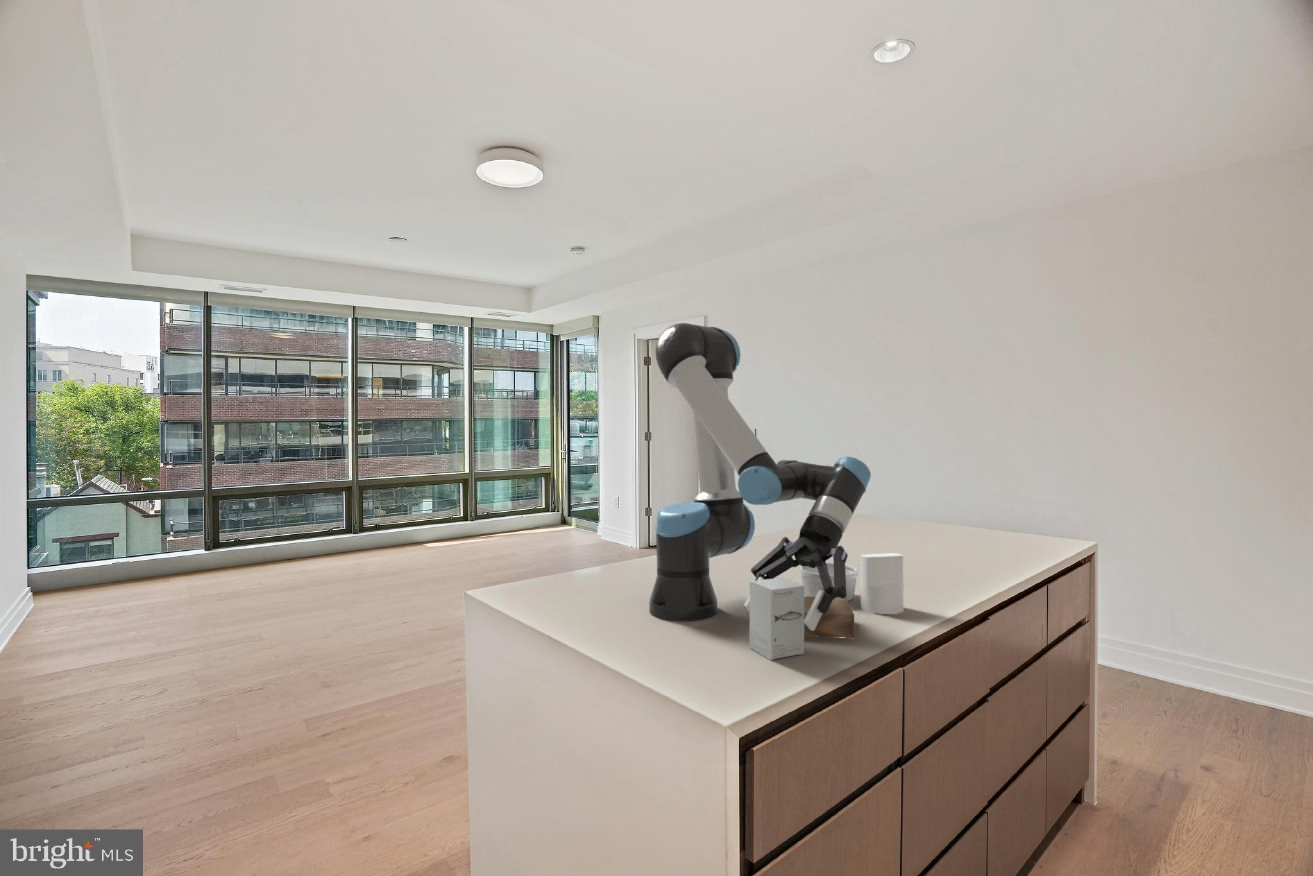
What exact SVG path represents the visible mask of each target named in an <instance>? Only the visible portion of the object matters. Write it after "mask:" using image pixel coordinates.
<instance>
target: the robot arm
mask: <svg viewBox="0 0 1313 876" xmlns="http://www.w3.org/2000/svg"><path fill="white" fill-rule="evenodd" d="M655 345H656V346H655V350H654V351H655V361H656V363H657V366H658V368H659V371H660V372H661V375H662V376H663V377H664V379H665V381H666V382H667V383H668V384H669V386H670V387H671V388H677V389H678V391H679V392H680V394H681V395H682V397H683V398H684V400H685V401H686V402H687V404H688V405H689V406H690V408H691V410H692V413H693V426H694V434H695V435H694V436H695V448H696V461H697V473H698V483H699V491H698V494H696V496H695V497H694V499H693V502H689V501H688V502H687V501H686V502H682V503H679V502H678V503H673V504H669V505H667V506H664V507H662V508H661V509H660V510H659V511H658V512H657V514H656V525H655V532H656V533H655V534H656V537H655V539H656V578H655V583H654V586H653V588H652V592H651V594H650V597H649V602H648V603H649V604H648V605H649V606H648V609H649V612H650V614H651V615H652V616H655V617H657V618H660V619H663V620H670V621H696V620H704V619H707V618H711V617H713V616H715V615H716V614H717V613H718V611H719V610H718V607H719V606H718V603H719V602H718V599H717V596H716V592H715V589H714V586H713V583H712V580H711V577H710V559H711V558H714V557H719V556H723V555H729V554H730V555H731V554H733V553H735V552H738V551H739V550H742V549H744V548H745V547H746V546H747V545H749V543H750V542H751V541H752V540H753V536H754V533H755V530H756V528H755V527H756V523H755V518H754V517H755V516H754V514H753V512H752V511H751V510H750V508H749V507H748V506H747V505H746V504H744V501H745V502H746V503H748V504H750V505H754V506H758V505H759V506H761V505H762V506H763V505H765V506H767V505H771V504H773V503H778V502H779V503H780V502H786V501H792V500H797V499H798V500H799V499H805V500H811V501H814V503H813V505H812V506H811V509H810V511H809V512H808V516H807V517H806V518H805V520H804V522H803V524H802V526H801V528H800V530H799V534H798V536H799V537H798V538H797V539H796V540H795V541H793V540H789V538H788V537H787V536H784V537H782V539H781V540H780V542H779V543H778V544H777V546H776V547H774V548H773V549H772V550H771V551H769V552H768V554H766V555H765V556H764V557H763V558H762V559H761V560H759V561H758V562H757V563H756V564H755V565H753V566H752V567H751V569H750V572H751V573H752V575H753V576H754V577H755V579H754V581H757V580H766V579H774V578H778V576H780V575H782V574H784V573H785V572H787V571H788V570H790V569H791V568H797V567H798V566H800V567H801V566H809V567H811V568H815V567H817V569H818V572H819V575H820V579H821V582H822V585H823V590H824V591H825V592H823V591H820V590H819V591H818V593H817V595H816V597H815V599H814V601H813V603H812V606H811V608H810V610H809V612H808V614H807V616H806V618H805V620H804V623H805V624H806V625H807V627H808V628H809V629H810V630H811V631H814V630H815V628H816V626H817V624H818V622H819V620H820V617H821V615H822V613H824V614H825V613H826V612H827V611H828V609H829V607H830V605H831V603H832V600H833V599H835V598H837V597H840V598H842V599H843V598H845V597H846V574H845V565H846V562H847V559H848V556H849V555H848V553H847V551H846V550H845V549H844V547H843V546H842V545H839V544H840V542H841V540H842V537H843V534H844V533H845V531H846V529H847V527H848V526H849V523H850V521H851V519H852V517H853V515H854V513H855V510H856V508H857V507H858V506H859V505H858V504H859V502H860V501H861V499H862V498H863V495H864V494H865V493H866V491H867V487H868V484H869V482H870V479H871V471H870V468H869V467H868V465H867V464H866V463H864V461H862V460H860V459H858V458H857V457H853V456H843V457H839V458H838V459H837V460H836V462H835V463H834V464H833V466H832V465H822V464H816V463H815V464H814V463H809V462H803V461H798V460H794V459H792V460H786V459H781V460H779V461H777V463H776V462H775V460H774V458H773V457H772V456H771V455H770V454H769V453H768V451H767V450H766V448H765V447H764V446H763V444H762V443H761V442H760V440H759V438H757V436H756V434H755V433H754V432H753V430H752V429H751V428H750V426H749V425H748V424H747V422H746V421H745V420H744V418H743V416H741V414H740V413H739V411H738V410H737V409H736V407H735V406H734V404H733V403H732V401H731V400H730V399H729V390H728V389H729V388H730V386H731V384H732V383H733V382H734V373H735V372H736V370H737V369H738V366H739V364H740V363H741V362H740V361H741V349H740V346H739V342H738V340H737V339H736V338H735V337H734V335H732V334H731V333H730V332H729V331H727V330H725V329H721V328H719V327H717V326H716V327H715V326H705V325H698V324H692V323H688V322H687V323H686V322H680V323H675V324H673V325H670V326H668V327H666V329H664V331H663V332H661V334H660V335H659V337H658V339H657V341H656V344H655ZM735 472H736V473H735ZM736 474H737V475H738V480H737V487H738V489H737V487H736V476H735V475H736ZM793 556H794V557H793ZM831 558H833V563H834V587H833V585H832V582H831V579H830V576H829V573H828V568H827V565H826V563H827V561H828V560H829V559H831ZM743 607H745V608H746V610H747V611H748V612H749V613H750V594H749V595H748V597H747V598H746V600H745V602H744V604H743Z"/></svg>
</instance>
